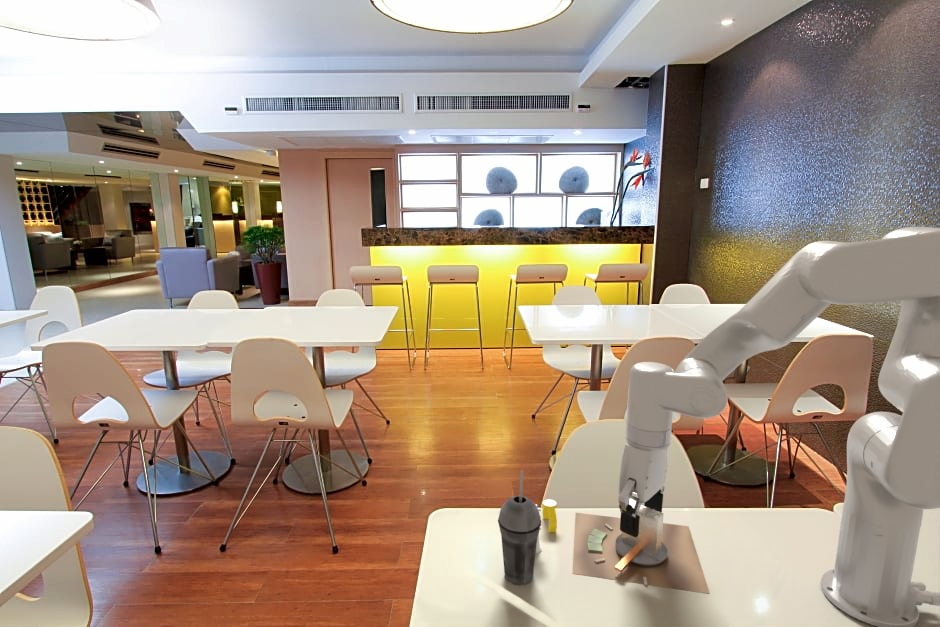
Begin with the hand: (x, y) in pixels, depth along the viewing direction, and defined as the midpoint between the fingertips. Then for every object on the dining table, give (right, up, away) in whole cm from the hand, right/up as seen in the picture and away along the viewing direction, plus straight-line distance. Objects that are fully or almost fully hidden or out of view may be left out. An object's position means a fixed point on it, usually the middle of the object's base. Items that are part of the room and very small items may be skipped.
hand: (641, 521), depth 93 cm
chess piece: (-19, -7, +3) cm, 21 cm away
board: (-1, -7, +2) cm, 7 cm away
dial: (-1, -6, -1) cm, 6 cm away
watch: (-15, -6, +10) cm, 19 cm away
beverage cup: (-23, -9, -5) cm, 25 cm away
